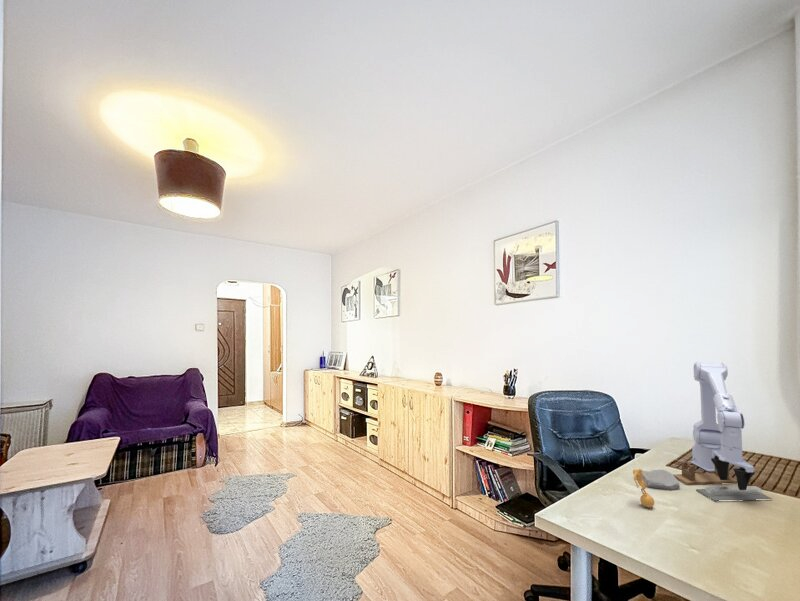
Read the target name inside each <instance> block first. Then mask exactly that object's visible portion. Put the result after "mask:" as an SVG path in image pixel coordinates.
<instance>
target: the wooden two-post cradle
mask: <svg viewBox="0 0 800 601" xmlns="http://www.w3.org/2000/svg"><path fill="white" fill-rule="evenodd" d="M672 474H673V473H672ZM673 476H674V477H675V478H676V479H677V480H678V482H679V483H680V482H681V483H682V484H684V485H685V486H702V485H703V486H704V485H707V484H712V485H723V484H722V483H737V478H734V477H732V476H730V465H729V466H728V476H727V480H720V478H719V475H718V472H717V469H716V467H715V471H714V472H712V473H711V472H710V473H709V472H707V473H696V465H694V464H693V465H692V464H690V465H689V463H688V461H684V460H683V461H681V473H679V474H677V473H676V474H675V473H674V474H673Z"/></svg>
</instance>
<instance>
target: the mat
mask: <svg viewBox="0 0 800 601" xmlns="http://www.w3.org/2000/svg"><path fill="white" fill-rule="evenodd" d="M695 491H696V492H698V493H699V494H700V493H701V494H700V495H702V494H703V495H702V496H704V495H705V496H707V497H709V498H711V499H712V500H714V501H719V500H756V499H772V500H773V498H772V497H770V496H768V495H767V494H764V493H762V492H761V494H758V495H724V496H710V495H708V494H706V488H697V489H695ZM705 496H704V497H705ZM707 497H706V498H707ZM709 498H708V499H709ZM712 500H711V501H712ZM714 501H713V502H714Z"/></svg>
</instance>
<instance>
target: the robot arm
mask: <svg viewBox="0 0 800 601" xmlns="http://www.w3.org/2000/svg"><path fill="white" fill-rule="evenodd" d="M728 373H729V372H728V366H727V365H726V363H724V362H699V361H695V362H694V364H693V378H694V381H696V382H699V388H700V390H699V391H700V413H701V414H700V415H701V420H699V421H698V422H696V423H694V424H693V431H692V439H693V441H694V443H693V444H692V448H691V450H692V452H691V455H692V460H691V461H690V463H691V464H693V465H694V466H697V467H699V468H701V469H703V470H704V471H707V472H715V467H716V469H717V472H718V475H719V478H720V480H727V476H728V466H729V467H730V464H731V465H733V466H735V467H737V468H733V471H734V473H735V477H736V480H737V483H738V484H737V487H738V488H739V490H746V489H747V486H749V483H750V481H751V479H752V477H753V476H754V475H755V473H756V472H755V469H754V468H755V467H754V466H753V465H751V464H750V463H748V462H747V461H746V460H744V458H743V435H742V429H744V428H745V423H746V422H745V417H744V413H743V412H742V411H740V409H738V408H737V404H736V403H735V400H734V398H733V396H732V395H731V394H730V393H728V390H727V388H726V384H725V381H726V379H727V377H728Z"/></svg>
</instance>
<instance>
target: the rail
mask: <svg viewBox="0 0 800 601" xmlns="http://www.w3.org/2000/svg"><path fill="white" fill-rule="evenodd" d="M705 489H706V494H708V495H710V496H724V495H758V494H761V493H762V488H760V487H759V486H756V485H751V486H750V485H747V489H746V490H739V488H738V486H712V487H710V486H709V487H705Z"/></svg>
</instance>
